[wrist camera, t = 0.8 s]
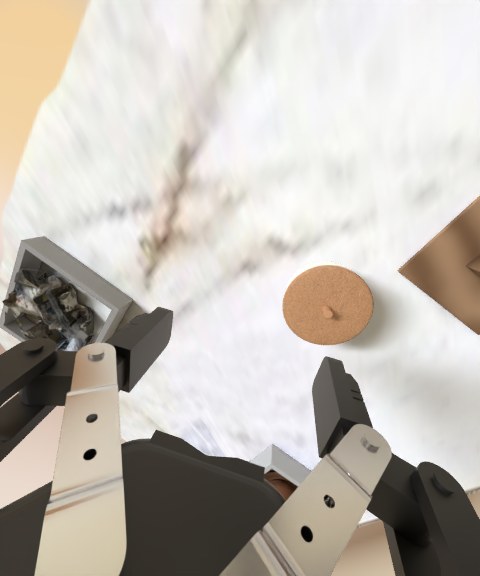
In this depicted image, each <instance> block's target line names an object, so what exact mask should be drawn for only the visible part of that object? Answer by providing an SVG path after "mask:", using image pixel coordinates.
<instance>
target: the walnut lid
mask: <svg viewBox="0 0 480 576" xmlns="http://www.w3.org/2000/svg"><path fill="white" fill-rule="evenodd" d="M398 272H400V273H401V274H402V275H403V276H405V277H406V278H407V279H409V280H410V281H411V282H412V283H414V284H415V285H416V286H417V287H419V288H420V289H421V290H422V291H424V292H425V293H426V294H427V295H429V296H430V297H431V298H433V299H434V300H435V301H436V302H438V303H439V304H440V305H441V306H443V307H444V308H445V309H446V310H448V311H449V312H450V313H451V314H453V315H454V316H455V317H457V318H458V319H459V320H460V321H462V322H463V323H464V324H465V325H467V326H468V327H469V328H470V329H472V330H473V331H474V332H475V333H477V334H478V335H480V196H479V197H478V198H477V199H476V200H475V201H473V202H472V203H471V204H470V205H469V206H468V207H467V208H466V209H465V210H464V211H462V212H461V213H460V214H459V215H458V216H457V217H456V218H455V219H454V220H453V221H451V222H450V223H449V224H448V225H447V226H446V227H445V228H444V229H443V230H442V231H441V232H439V233H438V234H437V235H436V236H435V237H434V238H433V239H432V240H431V241H430V242H428V243H427V244H426V245H425V246H424V247H423V248H422V249H421V250H420V251H419V252H417V253H416V254H415V255H414V256H413V257H412V258H411V259H410V260H409V261H408V262H407V263H405V264H404V265H403V266H402V267H401V268H400V269H399V270H398Z"/></svg>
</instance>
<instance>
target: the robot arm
mask: <svg viewBox="0 0 480 576" xmlns="http://www.w3.org/2000/svg"><path fill="white" fill-rule="evenodd" d="M172 320H173V311H171V310H168V309H164V308H161V307H157V308H156V309H155V310H154V311H153V312H152V313H150V314H148V313H145V314H142V315H139V316H137V317H135V318H134V319H133V320H132V321H130V323H128V324H127V325H125V326H124V328H122V329H121V330H119V331H118V332H117V333H116V334H114V335H113V336H112V337H111V338H109V339H108V340H107V341H106V342H104V343H93V344H89V345H86V346H84V347H83V348H81V349H80V350H79V351H61V350H57V345H56V342H55V341H53V340H51V339H47V338H35V339H30V340H27V341H24V342H21V343H19V344H18V345H16V346H14V347H13V348H11V349H9V350H8V351H6V352H4V353H3V354H1V355H0V406H1V405H2V404H3V403H4V402H5V401H7V400H8V399H9V398H10V397H12V396H13V395H14V394H15V393H17V392H18V391H19V393H18V394H17V395H16V396H14V397H13V398H12V399H11V400H9V401H8V402H7V403H6V404H4V405H3V406H2V407H1V408H0V462H1V461H2V460H3V459H4V457H6V456H7V455H8V454H9V453H10V452H11V451H12V450H13V449H14V448H15V447H16V446H17V445H18V444H19V443H20V442H21V441H22V439H24V438H25V437H26V436H27V435H28V434H29V433H30V432H31V431H32V430H33V429H34V428H35V427H36V426H37V425H38V424H39V423H40V422H41V421H42V420H43V419H44V418H45V417H46V416H47V415H48V414H49V413H50V412H51V411H52V410H53V409H54V408H55V407H56V406H65V409H64V415H63V421H62V427H61V434H60V440H59V446H58V452H57V458H56V465H55V471H54V477H53V481H51V482H50V483H48V484H46V485H44V486H42V487H40V488H38V489H37V490H35V491H33V492H32V493H30V494H27V495H26V496H24V497H22V498H20V499H18V500H16V501H15V502H13V503H11V504H9V505H7V506H5V507H4V508H2V509H0V576H331V574H332V572H333V570H334V568H335V566H336V564H337V562H338V561H339V559H340V557H341V555H342V553H343V551H344V549H345V547H346V546H347V544H348V542H349V539H350V538H351V536H352V534H353V532H354V531H355V529H356V527H357V525H358V523H359V521H360V519H361V517H362V516H363V514H364V512H365V510H366V509H367V510H368V511H369V512H371V513H372V514H374V515H375V516H376V517H378V518H379V519H381V520H382V521H383V523H384V528H385V532H386V536H387V540H388V545H389V549H390V554H391V558H392V562H393V567H394V571H395V575H396V576H480V519H479V517H478V516H477V514H476V512H475V510H474V508H473V506H472V504H471V502H470V500H469V499H468V497H467V495H466V493H465V491H464V490H463V488H462V487H461V485H460V484H459V483H458V482H457V481H456V480H455V478H454V477H453V476H451V475H450V474H449V473H448V472H447V471H445V470H444V469H443V468H441V467H439V466H438V465H436V464H433V463H430V462H422V463H420V464H419V465H418V467H417V468H416V467H414V466H413V465H411V464H409V463H408V462H406V461H404V460H402V459H401V458H399V457H397V456H396V455H394V454H393V453H392V452H391V448H390V446H389V444H388V442H387V441H386V440H385V438H384V437H383V436H382V435H381V434H380V433H379V432H377V431H376V430H375V429H373V427H372V424H371V421H370V418H369V415H368V412H367V409H366V406H365V403H364V402H363V397H362V395H361V392H360V389H359V386H358V383H357V382H356V381H355V379H354V378H353V377H352V376H351V374H348V373H345V370H344V366H343V363H342V361H340V360H337V359H333V358H330V357H325V358H324V359H323V361H322V363H321V366H320V368H319V370H318V373H317V375H316V377H315V379H314V383H313V388H312V395H313V404H314V414H315V423H316V433H317V443H318V452H319V457H320V458H323V459H322V460H321V461H320V462H319V463H318V465H317V466H316V467H315V468H314V469H313V470H312V472H311V473H310V474H309V475H308V476H307V477H306V478H305V480H304V481H303V482H302V483H301V484H300V485H299V487H298V488H297V489H296V490H295V491H294V492H293V494H292V495H291V496H290V497H289V498H288V499H287V501H286V500H285V499H284V497H283V496H282V495H281V493H280V492H279V491H278V490H277V489H276V488H275V487H274V486H273V485H272V484H271V483H270V482H269V481H267V480H266V479H264V471H265V467H262V466H259V465H256V464H253V463H251V462H248V461H245V460H242V459H239V458H231V457H216V456H207V455H205V454H203V453H202V452H200V451H199V450H197V449H196V448H195V447H193V446H192V445H190V444H189V443H187V442H186V441H184V440H183V439H181V438H178V437H175V436H172V435H170V434H167V433H164V432H161V431H158V430H156V431H155V433H154V434H153V436H152V438H151V439H137V440H132V441H129V442H125V443H123V444H121V435H120V415H119V395H118V392H119V391H120V390H122V391H125V392H128V393H129V392H130V391H131V390H132V389H133V387H134V386H135V385H136V384H137V382H138V381H139V380H140V379H141V377H142V376H143V375H144V374H145V372H146V371H147V370H148V369H149V367H150V366H151V365H152V364H153V362H154V361H155V360H156V359H157V357H158V356H159V355H160V354H161V353H162V351H163V350H164V349H165V348H166V346H167V344H168V342H169V340H170V336H171V329H172Z"/></svg>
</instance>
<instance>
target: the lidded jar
mask: <svg viewBox="0 0 480 576" xmlns="http://www.w3.org/2000/svg"><path fill="white" fill-rule="evenodd" d="M372 312H373V297H372V294H371V291H370V289H369V287H368V286H367V284H366V283H365V282H364V281H363V279H362V278H361V277H359V276H358V275H357V274H356V273H354V272H353V271H352V270H351V269H349V268H348V267H346V266H344V265H342V264H339V263H336V262H332V261H318V262H313V263H310V264H307V265H306V266H304V267H302V268H301V269H299V270H298V271H297V272H296V273H295V274H294V275H293V276H292V278H291V279H290V281H289V283H288V285H287V287H286V291H285V295H284V298H283V314H284V318H285V321H286V323H287V325H288V326H289V328H290V329H291V330H292V331H293V332H294V333H295V334H296V335H297V336H298V337H300V338H302V339H303V340H305V341H308V342H310V343H314V344H319V345H334V344H339V343H343V342H345V341H348V340H350V339H352V338H353V337H355V336H356V335H358V334H359V333H360V332H361V331H362V330H363V329H364V328H365V327H366V325H367V324H368V322H369V320H370V318H371V316H372Z"/></svg>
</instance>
